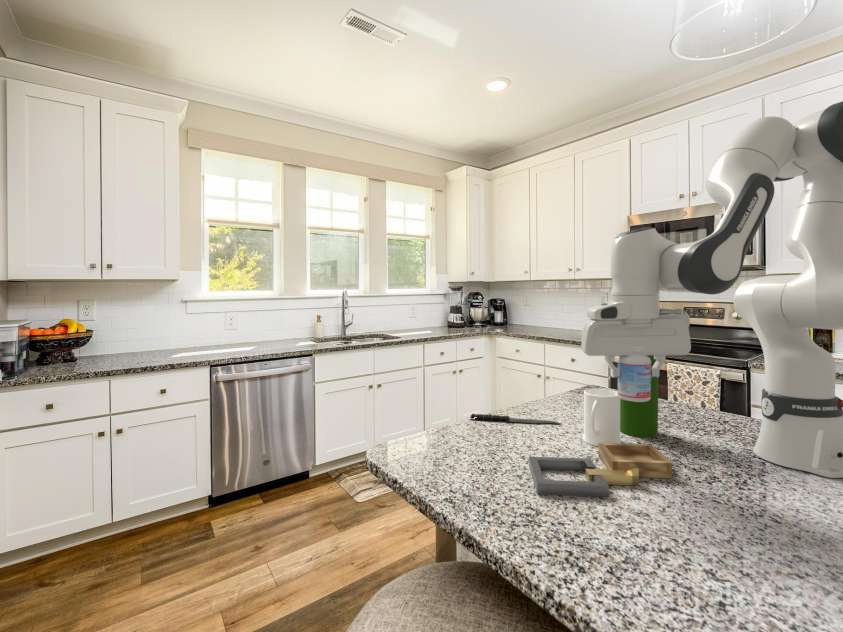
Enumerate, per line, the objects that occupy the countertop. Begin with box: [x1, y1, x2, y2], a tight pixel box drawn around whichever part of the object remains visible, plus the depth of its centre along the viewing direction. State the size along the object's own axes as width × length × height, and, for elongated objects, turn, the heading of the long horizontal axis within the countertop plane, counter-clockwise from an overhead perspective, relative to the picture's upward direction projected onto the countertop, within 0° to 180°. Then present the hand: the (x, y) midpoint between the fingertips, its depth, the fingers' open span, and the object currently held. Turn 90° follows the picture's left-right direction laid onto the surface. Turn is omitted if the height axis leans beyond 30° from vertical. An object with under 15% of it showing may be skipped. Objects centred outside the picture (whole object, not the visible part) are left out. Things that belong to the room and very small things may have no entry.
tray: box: [597, 443, 673, 479], centre depth 88 cm, size 11×10×3 cm
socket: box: [528, 456, 610, 498], centre depth 82 cm, size 12×12×2 cm
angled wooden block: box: [584, 463, 640, 487], centre depth 81 cm, size 9×3×3 cm, turn 83°
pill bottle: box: [617, 346, 651, 402], centre depth 87 cm, size 6×6×11 cm
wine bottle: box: [618, 355, 659, 438], centre depth 108 cm, size 9×9×32 cm
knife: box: [470, 413, 562, 425], centre depth 120 cm, size 25×2×5 cm
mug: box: [582, 388, 622, 447], centre depth 101 cm, size 12×8×12 cm
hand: (634, 377), depth 87 cm, fingers closed on pill bottle, 6 cm apart
